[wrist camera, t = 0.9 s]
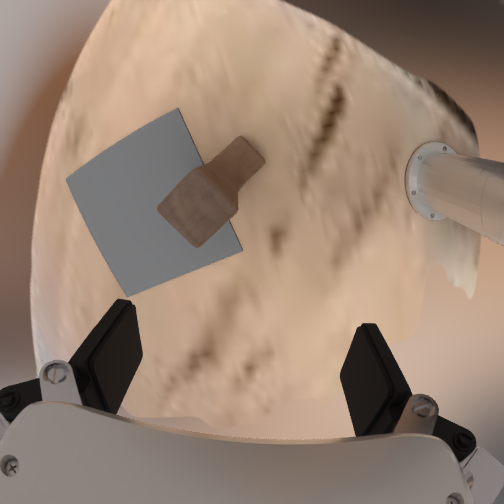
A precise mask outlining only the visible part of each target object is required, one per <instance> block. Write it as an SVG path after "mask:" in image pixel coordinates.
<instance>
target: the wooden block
mask: <svg viewBox="0 0 504 504" xmlns="http://www.w3.org/2000/svg"><path fill="white" fill-rule="evenodd" d="M264 164H265V160H264V158H263V157H262V156H261V155H260V154H259V153H258V152H257V151H256V150H255V149H254V148H253V147H252V146H251V145H250V144H249V143H248V142H247V141H246V140H245V139H244V138H243V137H242V136H239V137H238V138H236V139H235V140H234V141H233V142H232V143H231V144H230V145H229V146H228V147H227V148H225V149H224V150H223V151H222V152H221V153H220V154H219V155H218V156H216V157H215V158H214V159H213V160H212V161H210V162H209V163H208V164H205V165H202V166H199V167H196V168H194V169H192V170H191V171H190V172H189V173H188V174H187V175H186V176H185V177H184V178H183V179H182V180H181V181H180V182H179V183H178V185H177V186H176V187H175V188H174V189H173V190H172V191H171V192H170V193H169V194H168V195H167V196H166V197H165V198H164V199H163V200H162V202H161V203H160V204H159V205H158V207H157V210H158V212H159V214H160V215H161V216H162V217H164V218H165V219H166V220H167V221H168V222H169V223H170V224H171V225H172V226H173V227H174V228H175V229H176V230H177V231H178V232H179V233H180V234H181V235H182V236H183V237H184V238H185V239H186V240H187V241H188V242H189V243H190V244H191V245H192V246H194V247H196V248H199V247H201V246H202V245H203V244H204V243H205V242H206V241H207V240H208V239H209V238H211V237H212V236H213V235H214V234H215V233H216V232H217V231H218V230H219V229H220V228H221V227H222V226H223V225H224V224H225V223H226V222H227V221H228V220H229V219H231V218H232V217H233V216H234V215H235V214H236V213H237V211H238V191H239V190H240V188H241V187H242V186H243V185H244V184H245V183H246V182H247V180H248V179H249V178H250V177H251V176H252V175H254V174H255V173H256V172H257V171H258V170H259V169H260V168H261V167H262V166H263V165H264Z"/></svg>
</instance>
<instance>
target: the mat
mask: <svg viewBox="0 0 504 504" xmlns="http://www.w3.org/2000/svg"><path fill="white" fill-rule="evenodd" d="M202 165H204V164H203V162H202V160H201V158H200V156H199V153H198V151H197V149H196V147H195V144H194V142H193V140H192V138H191V136H190V133H189V131H188V129H187V127H186V125H185V122H184V120H183V118H182V116H181V113H180V111H179V109H178V108H176V109H174V110H173V111H171V112H169V113H167V114H165V115H163V116H161V117H159V118H158V119H156V120H154V121H152V122H150V123H149V124H147V125H145V126H143V127H142V128H140V129H138V130H137V131H135V132H133V133H132V134H130V135H128V136H127V137H125V138H123V139H122V140H120V141H119V142H117V143H116V144H114V145H112V146H111V147H109V148H108V149H106V150H105V151H103V152H102V153H100V154H99V155H98V156H96V157H95V158H93V159H92V160H90V161H89V162H88V163H86V164H85V165H84V166H82V167H81V168H79V169H78V170H77V171H75V172H74V173H73V174H72V175H70V176H69V177H68V178H66V181H67V184H68V186H69V188H70V191H71V193H72V195H73V197H74V200H75V202H76V204H77V206H78V208H79V211H80V213H81V215H82V217H83V219H84V221H85V223H86V225H87V227H88V229H89V231H90V233H91V235H92V237H93V239H94V241H95V243H96V245H97V246H98V248H99V250H100V252H101V254H102V256H103V257H104V259H105V261H106V263H107V265H108V266H109V268H110V270H111V272H112V273H113V275H114V277H115V278H116V280H117V282H118V283H119V285H120V287H121V288H122V290H123V292H124V293H125V295H126V296H127V297H129V296H132V295H134V294H137V293H139V292H141V291H144V290H146V289H149V288H151V287H154V286H156V285H159V284H161V283H164V282H166V281H169V280H171V279H174V278H176V277H179V276H181V275H184V274H186V273H189V272H191V271H194V270H196V269H199V268H201V267H204V266H206V265H209V264H211V263H214V262H216V261H219V260H221V259H224V258H226V257H229V256H231V255H234V254H236V253H239V252H241V251H243V249H242V247H241V245H240V243H239V241H238V239H237V236H236V234H235V232H234V230H233V228H232V226H231V223H230V221H229V220H228V221H227V222H226V223H225V224H224V225H223V226H222V227H221V228H220V229H219V230H218V231H217V232H216V233H215V234H214V235H213V236H212V237H211V238H209V239H208V240H207V241H206V242H205V243H204V244H203V245H202V246H201V247H199V248H196V247H194V246H192V245H191V244H190V243H189V242H188V241H187V240H186V239H185V238H184V237H183V236H182V235H181V234H180V233H179V232H178V231H177V230H176V229H175V228H174V227H173V226H172V225H171V224H170V223H169V222H168V221H167V220H166V219H165V218H164V217H162V216H161V215H160V214H159V212H158V210H157V207H158V205H159V204H160V203H161V202H162V200H163V199H164V198H165V197H166V196H167V195H168V194H169V193H170V192H171V191H172V190H173V189H174V188H175V187H176V186H177V185H178V183H179V182H180V181H181V180H182V179H183V178H184V177H185V176H186V175H187V174H188V173H189V172H190V171H191V170H192V169H194V168H196V167H199V166H202Z"/></svg>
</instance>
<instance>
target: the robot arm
mask: <svg viewBox="0 0 504 504" xmlns="http://www.w3.org/2000/svg"><path fill="white" fill-rule="evenodd" d="M405 181H406V191H407V196H408V198H409V201H410V203H411V205H412V207H413V208H414V209H415V211H416V212H417V213H418V214H420V215H421V216H422V217H424V218H426V219H429V220H432V221H439V220H443V219H445V218H449V219H451V220H453V221H455V222H457V223H459V224H461V225H463V226H465V227H467V228H469V229H471V230H473V231H475V232H477V233H479V234H481V235H483V236H484V237H486V238H488V239H490V240H492V241H494V242H496V243H497V244H500V245H502V246H504V163H502V162H497V161H493V160H487V159H481V158H476V157H470V156H464V155H457V153H456V152H455V151H454V150H453V149H452V148H451V147H449V146H448V145H446V144H444V143H440V142H429V143H426V144H424V145H422V146H420V147H419V148H418V149H417V150H416V151H415V152H414V154H413V155H412V157H411V159H410V161H409V163H408V167H407V171H406V179H405ZM411 192H412V193H411ZM142 356H143V351H142V346H141V340H140V334H139V328H138V321H137V314H136V307H135V305H133V304H132V302H131V301H129V300H124V299H117V300H116V301H115V302H114V304H113V305H112V306H111V307H110V309H109V310H108V311H107V312H106V314H105V315H104V316H103V317H102V319H101V320H100V321H99V323H98V324H97V325H96V326H95V327H94V328H93V330H92V331H91V332H90V334H89V335H88V336H87V338H86V339H85V340H84V342H83V343H82V344H81V346H80V347H79V348H78V350H77V351H76V352H75V354H74V355H73V356H72V358H71V359H70V361H69V362H68V363H67V362H65V361H63V360H53V361H50V362H48V363H46V364H45V365H44V366H43V367H42V368H41V370H40V373H39V378H37V379H34V380H30V381H27V382H23V383H19V384H15V385H11V386H8V387H5V388H3V389H2V390H0V504H493V502H494V500H495V499H496V497H497V495H498V494H499V492H500V490H501V488H502V487H503V485H504V466H503V465H502V464H501V463H499V462H498V461H497V460H496V459H495V458H494V457H492V456H491V455H490V454H489V453H488V452H486V451H485V450H484V449H483V448H482V447H481V446H479V447H478V448H477V447H476V438H475V436H474V435H473V434H472V432H471V431H469V430H468V429H465V428H464V427H461V426H459V425H457V424H455V423H453V422H451V421H449V420H447V419H445V418H443V417H441V416H439V415H438V413H439V408H438V405H437V403H436V401H435V400H433V398H431V397H429V396H428V395H425V394H415V395H412V393H411V390H410V387H409V385H408V384H407V381H406V380H405V377H404V375H403V374H402V371H401V370H400V368H399V366H398V364H397V362H396V360H395V358H394V356H393V354H392V352H391V350H390V349H389V347H388V345H387V343H386V341H385V339H384V337H383V336H382V334H381V332H380V330H379V328H378V327H377V325H376V324H374V323H363V324H362V325H361V327H360V326H359V327H358V328H357V329H356V332H355V335H354V338H353V341H352V343H351V346H350V349H349V351H348V354H347V356H346V359H345V362H344V364H343V367H342V369H341V372H340V380H341V383H342V387H343V390H344V394H345V397H346V401H347V405H348V409H349V412H350V416H351V420H352V423H353V427H354V431H355V435H356V437H348V438H334V439H314V440H275V439H253V438H240V437H239V438H238V437H229V436H219V435H212V434H204V433H197V432H191V431H185V430H179V429H174V428H169V427H164V426H159V425H155V424H150V423H146V422H141V421H138V420H134V419H130V418H126V417H122V416H119V415H116V414H117V412H118V409H119V407H120V405H121V403H122V401H123V398H124V396H125V394H126V392H127V390H128V388H129V385H130V383H131V381H132V379H133V377H134V375H135V373H136V371H137V369H138V366H139V364H140V362H141V360H142Z"/></svg>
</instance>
